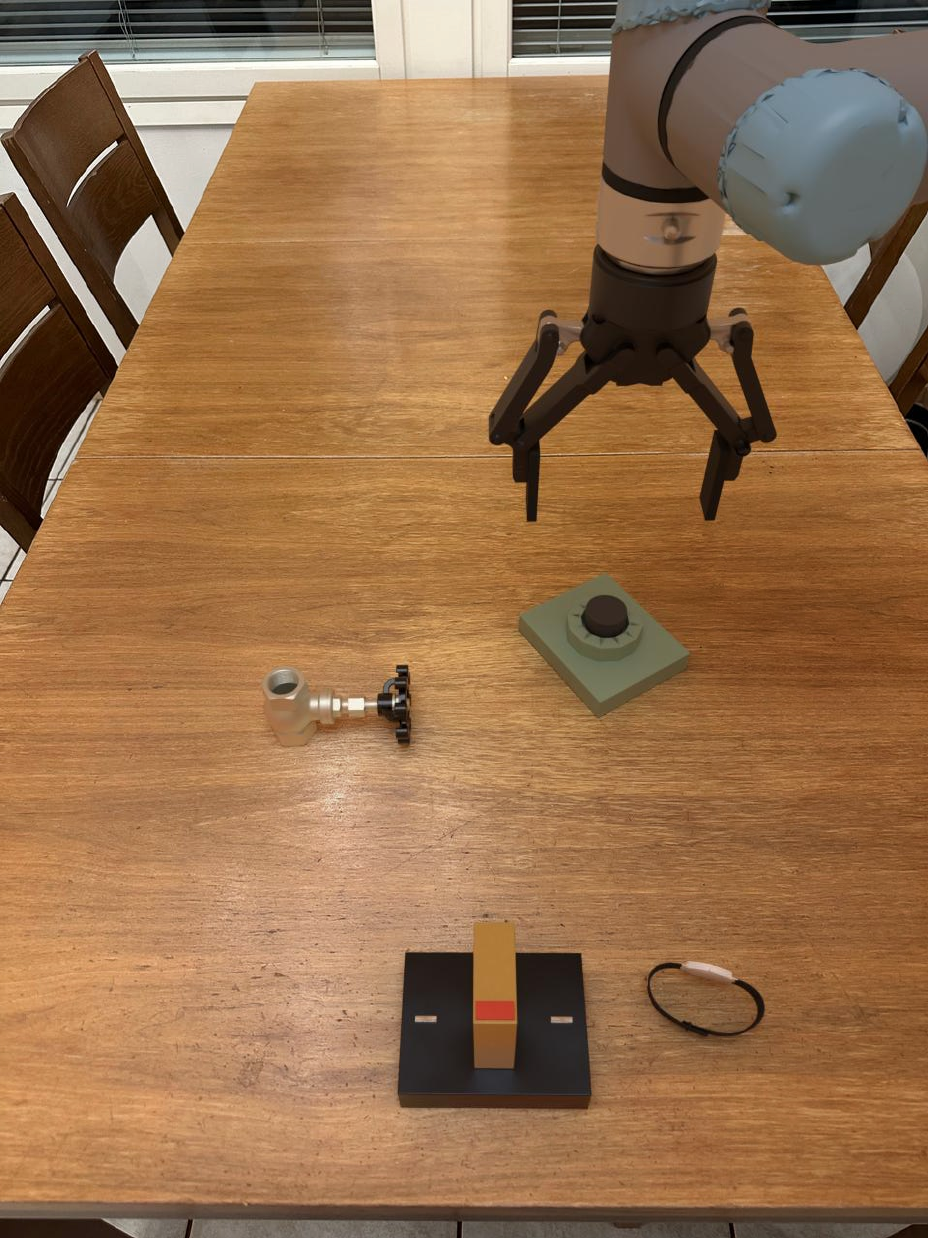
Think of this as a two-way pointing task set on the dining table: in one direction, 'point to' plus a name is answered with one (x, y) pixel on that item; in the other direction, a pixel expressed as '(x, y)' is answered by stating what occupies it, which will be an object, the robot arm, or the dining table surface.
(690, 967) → the watch
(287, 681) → the valve
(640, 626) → the doorbell
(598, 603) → the bell button
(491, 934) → the lock knob
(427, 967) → the plate
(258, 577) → the dining table surface
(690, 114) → the robot arm
